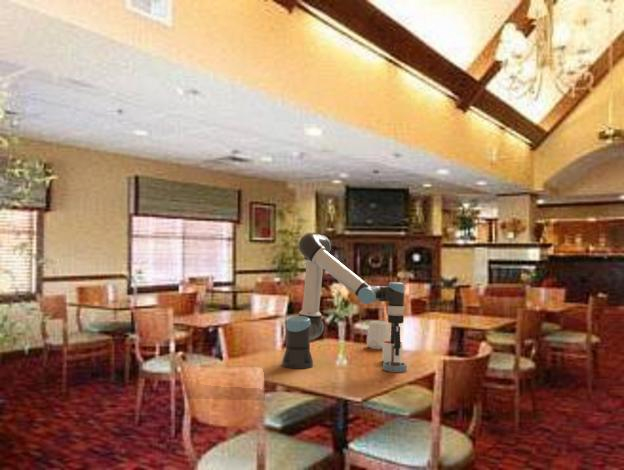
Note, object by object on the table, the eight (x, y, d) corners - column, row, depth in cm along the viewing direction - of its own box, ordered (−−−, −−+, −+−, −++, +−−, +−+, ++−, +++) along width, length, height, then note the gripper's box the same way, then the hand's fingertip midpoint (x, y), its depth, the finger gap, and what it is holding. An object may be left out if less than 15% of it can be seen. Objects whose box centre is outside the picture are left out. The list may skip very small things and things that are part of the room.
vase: (394, 347, 344) (395, 321, 345) (384, 350, 332) (385, 324, 333) (373, 344, 352) (373, 319, 352) (362, 348, 340) (362, 321, 340)
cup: (401, 364, 295) (401, 344, 295) (381, 363, 297) (381, 343, 297) (402, 360, 305) (402, 341, 305) (383, 359, 307) (383, 340, 307)
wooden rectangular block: (391, 368, 281) (392, 345, 281) (391, 367, 283) (391, 345, 283) (398, 369, 281) (399, 346, 281) (398, 367, 283) (398, 345, 283)
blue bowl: (384, 371, 277) (384, 364, 277) (382, 367, 288) (382, 359, 288) (407, 372, 276) (408, 364, 276) (404, 367, 287) (404, 360, 287)
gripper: (407, 317, 270) (406, 364, 270) (400, 311, 294) (399, 355, 294) (390, 317, 270) (390, 364, 270) (385, 311, 295) (384, 354, 294)
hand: (394, 359), depth 282 cm, fingers open, 12 cm apart
